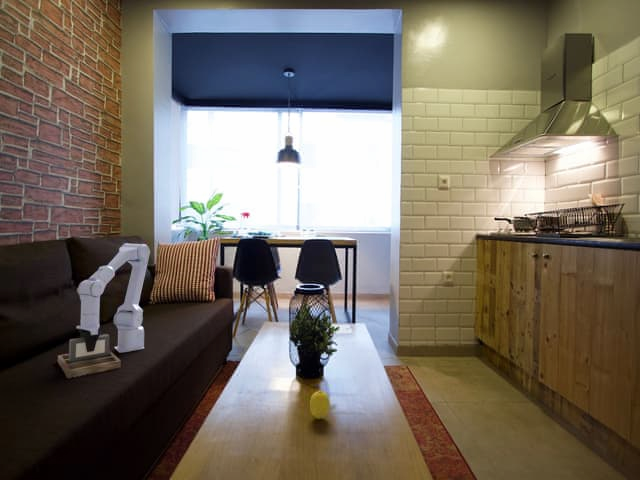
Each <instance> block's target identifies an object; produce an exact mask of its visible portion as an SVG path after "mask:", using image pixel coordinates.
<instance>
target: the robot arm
mask: <svg viewBox="0 0 640 480" xmlns="http://www.w3.org/2000/svg"><path fill="white" fill-rule="evenodd" d="M150 253H151V250H150V248H149V246H148V245H147V244H146V243H145V244H144V243H141V244H140V243H127V242H125V243H123V244H122V246H120V247H119V249H118V252H117V254H116V255H115V256H114V257H113V259H111V261H110V262H108V264H107V265H102V266H99V268H98V270H97V271H95V272H94V273H93V274H92V275H91V276H90V277H89V278H87V279H85V280H83V281H81V282H80V283H79V284H78V287H77V288H76V290H77V293H78V295H79V299H80V303H81V304H80V325H76V329H77V330H78V332H79V334H80V336H81V338H83V337H84V339H85V343H86V350H87V352H92V351H94V349H95V346H96V342H97V339H98V337H99V336H100V335H102V332H101V331H99V329H100V306H101V305H100V303H101V301H100V300H101V295H102V294H103V293H104V290H105V288H106V287H107V284H108V283H109V282H110V281H111V280H112V279H113V278H114V277H116V276H115V274H116V271H117V270H119V268H120V267H122V266H123V265H124V264H125V263H126V262H128V263H129V264H130V265H131V266H132V268H131V273H130V276H129V282H128V285H127V289H126V294H125V297H124V298H125V299H124V301H123V302H124V303H122V305H120V306H119V307H118V308H117V311H116V313H115V314H114V316H113V324H114V325H115V326H116V329H117V346H114V350H116V351H117V352H118V353H127V352H132V351H138V350H143V349H145V329H144V327H143V326H142V323H143V319H144V318H143V317H144V316H143V314H144V313H143V312H144V309H143V308H141V307H140V305H139V303H140V300H141V294H142V289H143V285H144V281H145V277H146V272H147V268H148V267H147V266H148V263H149V258H150Z"/></svg>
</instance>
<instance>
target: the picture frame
mask: <svg viewBox="0 0 640 480" xmlns="http://www.w3.org/2000/svg"><path fill="white" fill-rule="evenodd" d="M68 344H69V345H68V346H69V349H68V354H69V360H70V361H75V360H80V359H86V358H92V357H97V356H103V355H108V354H109V350H110V334H108V333H106V334H100V336H99V337H98V339H97V342H96V346H95V349H94V351H92V352H87V350H86V343H85V339H84V337H83V338H82V337H79V338H78V337H77V338H70V339H69V343H68Z"/></svg>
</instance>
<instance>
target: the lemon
mask: <svg viewBox="0 0 640 480" xmlns="http://www.w3.org/2000/svg"><path fill="white" fill-rule="evenodd" d="M309 410H310V413H311V414H312V416H313V417H315V418H317V419H318V420H321V419H322V418H324V417H326V416H327V415H328V413H329V411H330V399H329V396H328V394H327V393H326V392H324V391H323V390H318V391H315V392H314V393H313V394H312V395H311V398H310V401H309Z"/></svg>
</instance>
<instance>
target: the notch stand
mask: <svg viewBox="0 0 640 480" xmlns="http://www.w3.org/2000/svg"><path fill="white" fill-rule="evenodd" d="M57 363H58V366H59V367H60V366H61V367H60V368H62V369H61V370H62V372H63V371H64V372H63V374H64V373H65V374H64V375H65V376H66V379H67V378H68V379H71V378H72V377H73V378H77V376H78V377H81V376H82V375H83V376H87V374H88V375H91V374H96V373H102V372H106V371H111V370H115V369H120V368H121V363H122V361H121V359H120V358H118V357H117V356H116V355H115V354H114V353H113V352H112V351H111V350H110V349H109V354H108V355H103V356H97V357H92V358H86V359H80V360H75V361H70V360H69V353H65V354H60V355H57Z"/></svg>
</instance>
